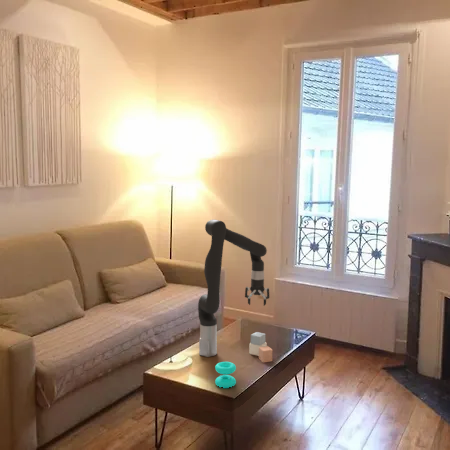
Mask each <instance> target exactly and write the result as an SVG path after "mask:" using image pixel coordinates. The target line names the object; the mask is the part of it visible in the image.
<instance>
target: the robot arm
mask: <svg viewBox="0 0 450 450" xmlns="http://www.w3.org/2000/svg"><path fill="white" fill-rule="evenodd" d="M204 229H205V232H206V233H207V234H208V235H209V236H211V243H210V244H211V245H210V248H209V251H208V252H207V255H206V256H205V261H204V269H203V272H204V277H205V281H206V286H207V293H206V294H202V295H200V297H199V300H198V304H197V309H198V319H199V324H200V325H199V335H200V336H199V339H198V343H199V344H198V348H199V349H198V354H199V356H203V357H206V358H209V357H214V356H216V355H217V353H218V350H217V348H218V346H217V345H218V343H217V342H218V341H217V340H218V339H217V338H218V337H217V336H218V334H217V333H218V332H217V331H218V329H217V328H218V327H217V326H218V323H217V322H218V321H217V318H216V316H215V315H214V314H216V313H217V312H218V311H219V309H220V303H221V301H220V297H221V296H220V288H221V287H220V285H221V272H222V265H223V264H222V262H223V252H224V244H225V241H226V242H229V243H231V244H232V245H234V246H236V247H238V248H240V249H242V250H243V251H247V252H249V255H250V261H251V272H250V273H251V274H250V287H249V286H246V287H245V291H244V298H247V305H249V306H250V305H251V298H252V297H253V295H254V296H261V297H263V306H264V307H265V306H266V305H267V299H270V287H265V263H264V261H263V259H262V257H265V255H267V251H268V250H267V247H266V246H265V245H264V244H262V243H259V242H257V241H254V240H253V239H251V238H249V237H248V236H246V235H243V234H242V233H241V234H240V233H238V232H235V231H234V230H230V229H228V228H227V226H226V224H225V222H224V221H222V220H219V219H218V220H217V219H210V220H208V221H207V222H206V224H205V225H204ZM249 291H250V293H249V295H248V292H249ZM264 291H265V292H266V295H265V293H264Z"/></svg>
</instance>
